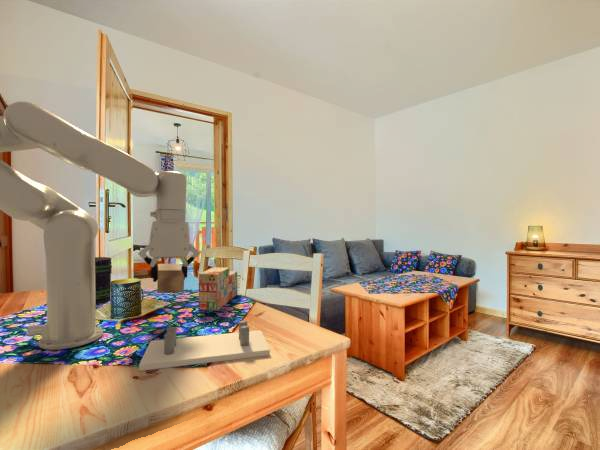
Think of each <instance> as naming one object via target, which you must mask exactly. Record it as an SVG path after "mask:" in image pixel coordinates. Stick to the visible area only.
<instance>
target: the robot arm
mask: <svg viewBox="0 0 600 450" xmlns="http://www.w3.org/2000/svg"><path fill="white" fill-rule="evenodd" d="M34 149H35V150H36V149H41V150H43V151H44V152H46V153H48V154H50V155H52V156H54V157H55V158H57V159H60V160H61V161H63V162H66V163H67V164H69V165H71V166H73V167H75V168H77V169H81V170H85V171H89V172H91V173H94V174H96V175H98V176H101V177H103V178H104V179H107V180H109V181H111V182H113V183H115V184H116V185H118V186H120V187H122V188H124V189H125V190H127V191H128V193H130V194H131V195H132V196H134V197H136V198H137V197H138V198H151V197H156V209H155V211H150V217H153V218H155V220H153V221H152V224H151V227H150V233H149V234H150V235H149V243H148V244H147V245H146V246H145V247H143V249H141V250H140V251H139V252H138V255H139V257H140V258H141V259H143V260H144V262H145V263H146V264H147V265H149V267H150V279H152V281H153V283H156V282H158V262H159V259H167V258H168V259H169V258H170V259H180V261H181V263H182V266H181V270H182V272H183V274H184V281H185V279H186V278H188V266H189V265H190V264H192V263H193V262H194V261H195V260H196V259H197V258H198V257H199V255H200V254H201V252H200V251H199V249H197V248H196V247H195V246H194V245H192V244H191V241H190V240H191V239H190V238H191V237H190V226H189V222H188V221H186V212H187V210H186V207H187V206H186V205H187V176H186V175H185V174H184V173H183V172H179V171H171V170H170V171H169V170H168V171H167V170H165V171H164V170H163V171H160V172H159V173H158V172H156V171H154V169H153V168H152V167H150V166H149V165H147V164H145V163H144V162H142V161H140V160H138V159H137V158H135V157H133V156H131V155H130V154H128V153H126V152H124V151H122V150H121V149H118V148H116V147H114V146H112V145H111V144H108V143H106V142H105V141H103V140H101V139H99V138H97V137H95V136H93V135H91V134H89V133H87V132H85V131H84V130H82V129H80V128H78V127H76V126H75V125H73V124H71V123H69V122H68V121H66V120H64V119H62V118H61V117H59V116H58V115H55V114H54V113H53V112H50V111H49V110H47V109H46V108H43V107H41V106H39V105H37V104H35V103H32V102H30V101H29V102H28V101H15V102H13V103H11V104H9V105H8V106H7V107H6V108H5V110H4V111H3V115H0V153H6V152H7V153H9V152H16V151H17V152H18V151H27V150H34ZM0 211H1V212H3V213H5V215H7V216H9V217H10V218H13V219H15V220H17V221H18V220H19V221H22V222H23V221H24V222H30V223H31V224H33V225H35V226H36V227H38V228H40V229H41V230H43V234H42V235H43V245H44V246H43V247H44V254H45V263H46V264H45V273H46V274H45V275H46V276H45V277H46V278H45V279H46V322H45V323H44V324H32V325H31V324H30V325H29V326H28V327H27V330H26V331H27V336H28V337H33V336H39V335H40V339H39V340H38V347H39V348H40V349H42V350H51V351H55V350H65V349H71V348H76V347H81V346H84V345H87V344H90V343H93V342H95V341H97V340H98V339H100V338H101V337H102V336H103V335H104V329H103V328H102V327H101V326H96V325H97V322H96V320H97V319H96V317H97V316H96V310H97V309H96V299H95V257H96V252H95V249H96V246H95V238H96V236H97V235H98V232H99V231H98V230H99V227H98V226H99V225H98V223H97V221H96V219H95V217H93V216H92V215H91V214H90V213H88V212H87V211H85V210H84V209H82V208H81V207H79V206H78V205H77V204H75V203H73V202H72V201H70V200H69V199H68V198H66V197H64V196H63V195H62V194H60V193H59V192H57V191H56V190H54V189H53V188H51V187H49V186H48V185H45V184H43V183H40V182H37V181H35V180H32V179H31V178H29V177H27V176H26V175H24V174H22V173H21V172H19V171H18V170H16V169H14V168H13V167H12V166H10V165H9V164H8V163H7V162H5V161H3V160H2V159H0ZM190 252H192V253H193V254H192V255H191V256H190V257H189V258H187V257H188V256H189V255H190ZM147 253H148V254H147Z"/></svg>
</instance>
